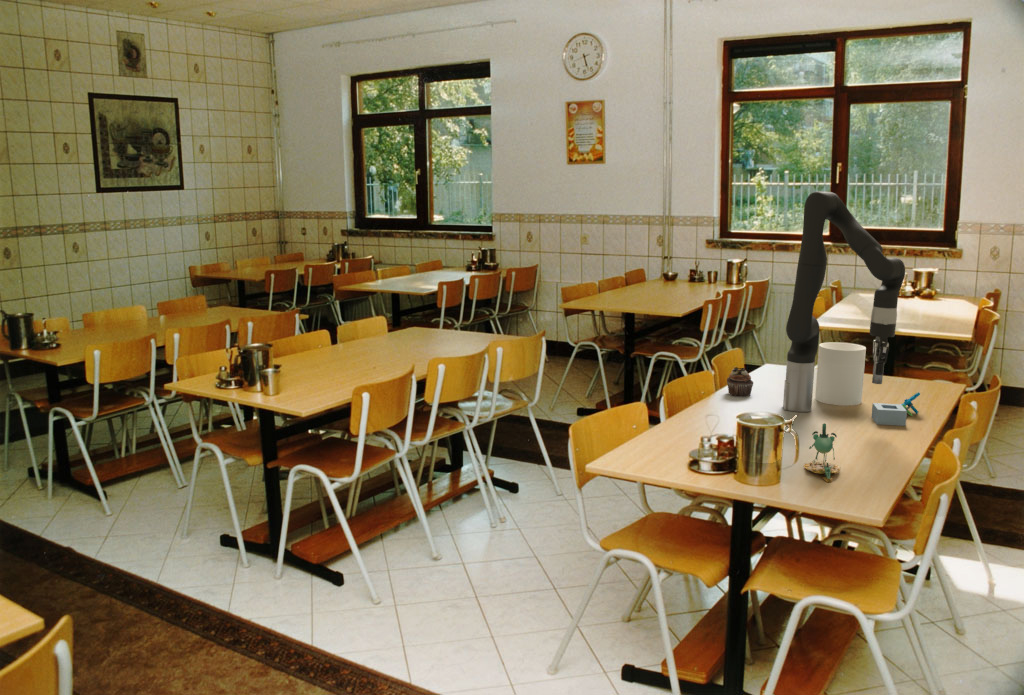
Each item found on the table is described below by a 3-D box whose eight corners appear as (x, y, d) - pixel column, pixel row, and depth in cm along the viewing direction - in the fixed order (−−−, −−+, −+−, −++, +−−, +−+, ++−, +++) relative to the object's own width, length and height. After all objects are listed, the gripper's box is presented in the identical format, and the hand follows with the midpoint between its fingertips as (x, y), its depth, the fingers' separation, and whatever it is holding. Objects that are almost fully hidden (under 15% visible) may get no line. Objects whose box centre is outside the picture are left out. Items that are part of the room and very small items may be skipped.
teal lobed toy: (899, 402, 314) (921, 387, 307) (911, 415, 313) (933, 400, 306) (888, 413, 306) (910, 397, 300) (900, 426, 305) (923, 410, 298)
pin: (872, 383, 285) (876, 353, 283) (871, 381, 288) (874, 351, 286) (882, 384, 285) (886, 353, 283) (881, 382, 288) (884, 352, 286)
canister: (854, 395, 331) (858, 342, 327) (867, 406, 316) (871, 351, 312) (810, 394, 333) (814, 341, 329) (820, 404, 317) (824, 349, 313)
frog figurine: (799, 480, 238) (803, 425, 237) (805, 467, 255) (808, 416, 253) (838, 484, 234) (841, 429, 233) (840, 471, 251) (844, 419, 250)
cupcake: (754, 397, 327) (755, 371, 325) (727, 396, 328) (728, 370, 326) (751, 391, 336) (752, 365, 334) (725, 390, 337) (726, 364, 336)
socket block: (876, 424, 292) (877, 409, 291) (871, 417, 301) (872, 402, 300) (905, 425, 291) (907, 411, 290) (899, 418, 299) (901, 404, 298)
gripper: (867, 316, 290) (861, 368, 293) (875, 323, 277) (869, 377, 280) (891, 318, 288) (885, 369, 292) (900, 325, 275) (894, 379, 278)
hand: (877, 373), depth 286 cm, fingers closed on pin, 3 cm apart
